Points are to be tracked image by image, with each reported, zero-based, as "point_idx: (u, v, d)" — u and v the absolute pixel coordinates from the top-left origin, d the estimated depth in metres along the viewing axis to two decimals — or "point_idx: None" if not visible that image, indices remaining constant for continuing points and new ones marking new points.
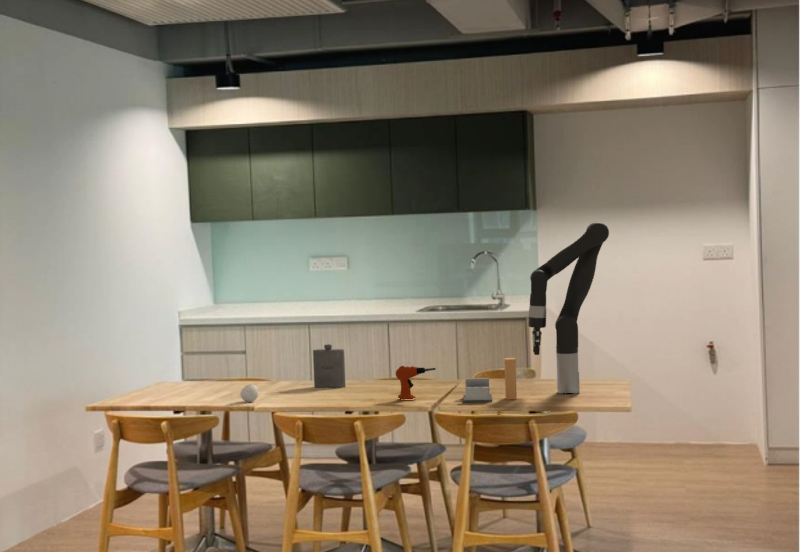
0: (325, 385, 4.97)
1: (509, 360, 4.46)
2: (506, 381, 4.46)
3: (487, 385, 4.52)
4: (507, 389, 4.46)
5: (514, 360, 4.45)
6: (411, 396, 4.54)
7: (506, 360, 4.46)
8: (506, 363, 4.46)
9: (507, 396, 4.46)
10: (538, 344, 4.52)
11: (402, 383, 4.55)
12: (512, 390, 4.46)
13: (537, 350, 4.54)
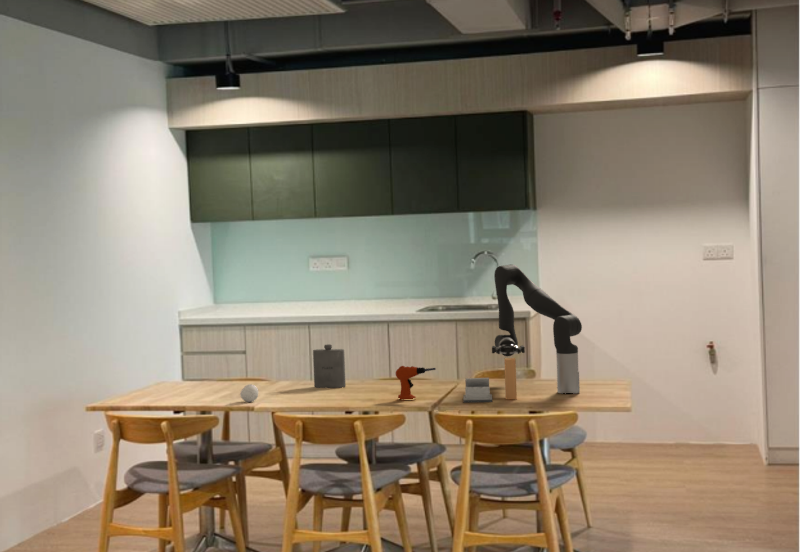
0: (325, 385, 4.97)
1: (509, 360, 4.46)
2: (506, 381, 4.46)
3: (487, 385, 4.52)
4: (507, 389, 4.46)
5: (514, 360, 4.45)
6: (411, 396, 4.54)
7: (506, 360, 4.46)
8: (506, 363, 4.46)
9: (507, 396, 4.46)
10: (492, 349, 4.64)
11: (402, 383, 4.55)
12: (512, 390, 4.46)
13: (496, 350, 4.61)
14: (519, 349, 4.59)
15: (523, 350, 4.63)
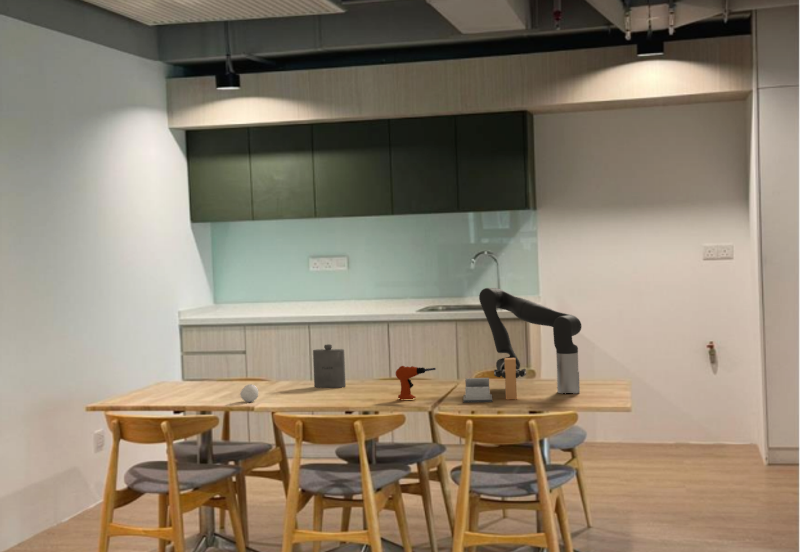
0: (325, 385, 4.97)
1: (509, 360, 4.45)
2: (506, 380, 4.46)
3: (487, 385, 4.52)
4: (507, 389, 4.46)
5: (514, 360, 4.45)
6: (411, 396, 4.54)
7: (506, 360, 4.46)
8: (506, 363, 4.46)
9: (507, 396, 4.46)
10: (497, 373, 4.50)
11: (402, 383, 4.55)
12: (513, 390, 4.46)
13: (502, 374, 4.48)
14: (517, 373, 4.46)
15: (521, 374, 4.49)
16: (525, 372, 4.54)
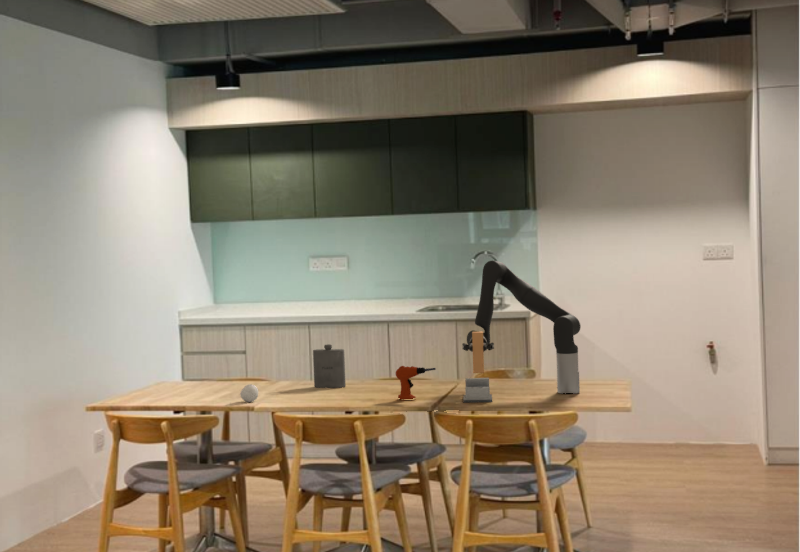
0: (325, 385, 4.97)
1: (476, 333, 4.45)
2: (473, 354, 4.46)
3: (487, 385, 4.52)
4: (474, 362, 4.46)
5: (481, 333, 4.45)
6: (411, 396, 4.54)
7: (473, 333, 4.45)
8: (473, 336, 4.45)
9: (474, 369, 4.46)
10: (465, 346, 4.50)
11: (402, 383, 4.55)
12: (480, 364, 4.46)
13: None
14: (485, 346, 4.45)
15: (489, 347, 4.49)
16: (493, 346, 4.53)
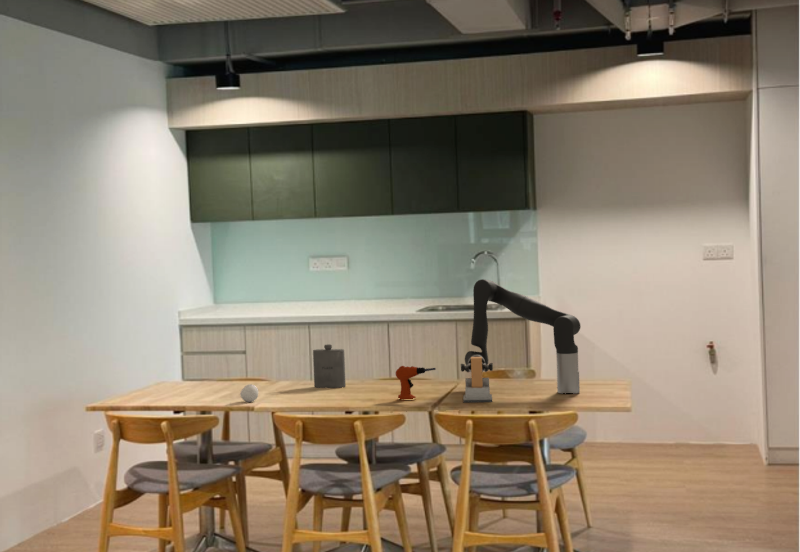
0: (325, 385, 4.97)
1: (475, 359, 4.45)
2: (472, 379, 4.46)
3: (487, 385, 4.52)
4: None
5: (480, 359, 4.45)
6: (411, 396, 4.54)
7: (472, 359, 4.45)
8: (472, 362, 4.45)
9: None
10: (461, 367, 4.50)
11: (402, 383, 4.55)
12: None
13: (465, 368, 4.48)
14: (486, 367, 4.46)
15: (491, 368, 4.49)
16: None
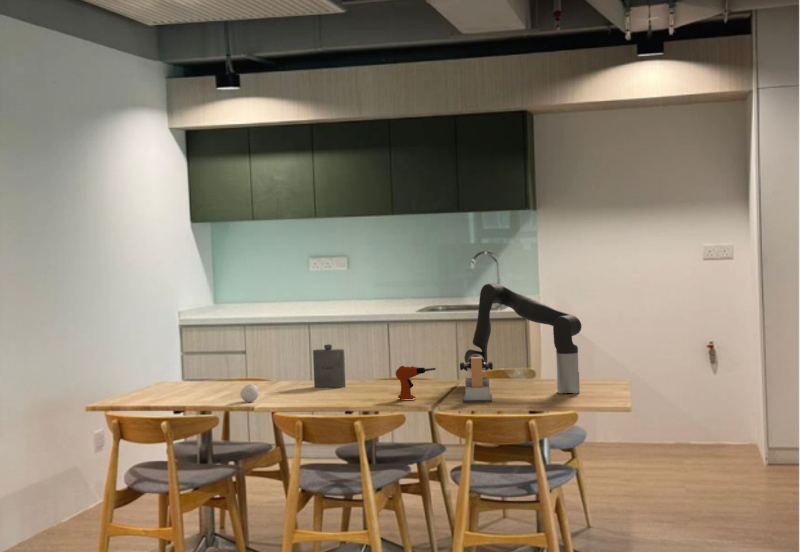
0: (325, 385, 4.97)
1: (475, 359, 4.45)
2: (472, 379, 4.46)
3: (487, 385, 4.52)
4: None
5: (480, 359, 4.45)
6: (411, 396, 4.54)
7: (472, 359, 4.45)
8: (472, 362, 4.45)
9: None
10: (460, 366, 4.65)
11: (402, 383, 4.55)
12: None
13: (464, 367, 4.62)
14: (487, 366, 4.60)
15: (491, 367, 4.64)
16: None
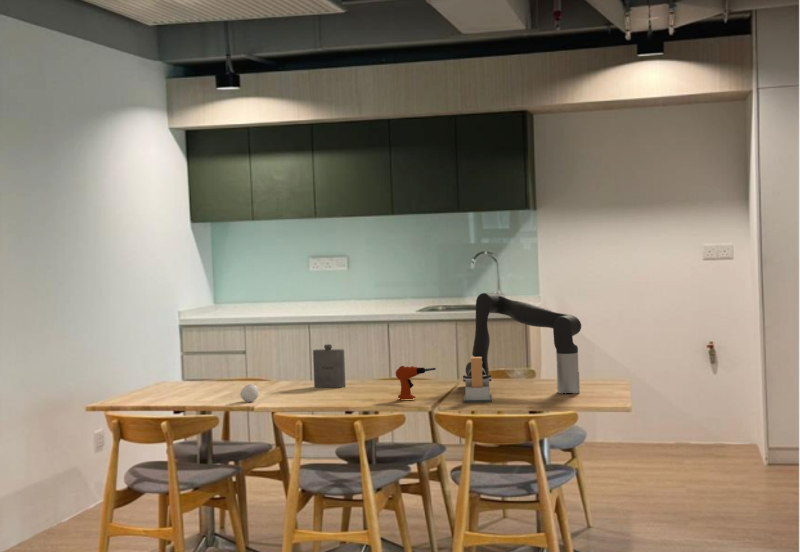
0: (325, 385, 4.97)
1: (475, 359, 4.45)
2: (472, 379, 4.46)
3: (487, 386, 4.51)
4: None
5: (480, 359, 4.45)
6: (411, 396, 4.54)
7: (472, 359, 4.45)
8: (472, 362, 4.45)
9: None
10: (469, 378, 4.59)
11: (402, 383, 4.55)
12: None
13: None
14: None
15: None
16: (490, 378, 4.62)
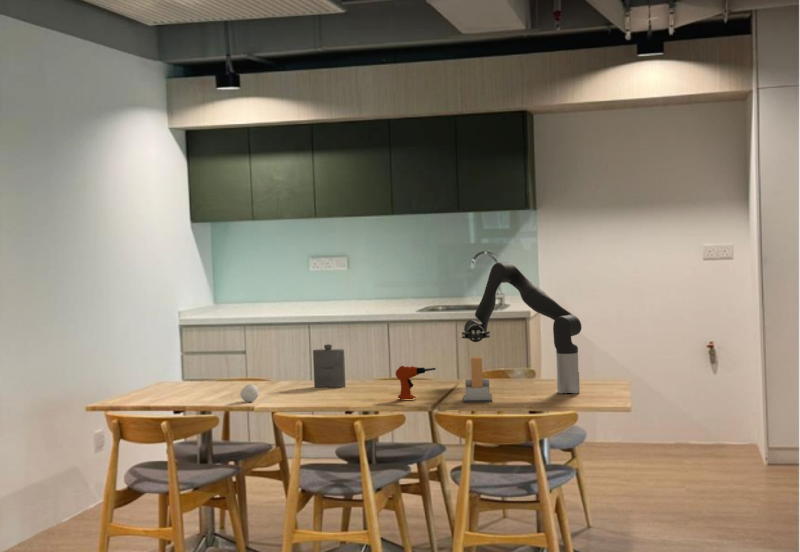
0: (325, 385, 4.97)
1: (475, 359, 4.45)
2: (472, 380, 4.45)
3: (487, 386, 4.49)
4: None
5: (480, 359, 4.45)
6: (411, 396, 4.54)
7: (472, 359, 4.45)
8: (472, 362, 4.45)
9: None
10: (468, 335, 4.67)
11: (402, 383, 4.55)
12: None
13: (472, 336, 4.64)
14: (477, 335, 4.63)
15: (481, 336, 4.67)
16: (488, 334, 4.70)
